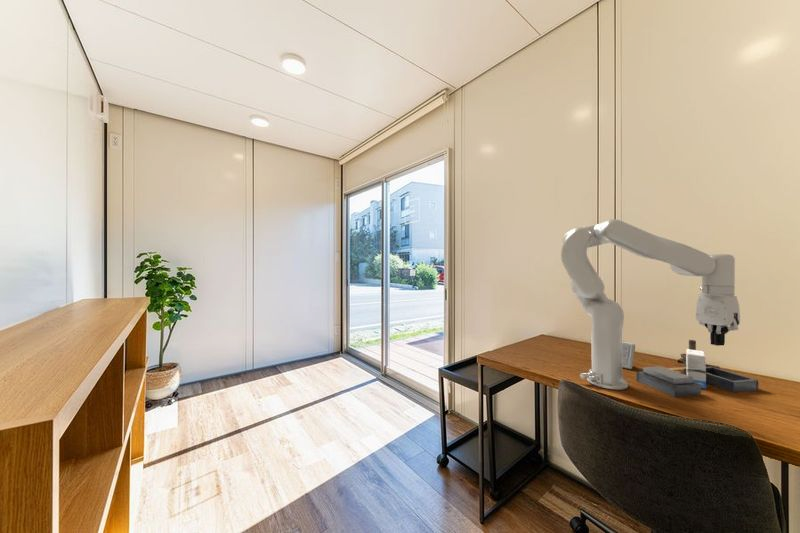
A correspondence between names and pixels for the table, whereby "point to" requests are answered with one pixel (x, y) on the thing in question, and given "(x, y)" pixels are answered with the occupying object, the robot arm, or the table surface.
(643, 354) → the table surface
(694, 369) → the ink box
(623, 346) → the digital clock
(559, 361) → the table surface
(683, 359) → the industrial component
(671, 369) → the grey case and lid
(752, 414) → the table surface
